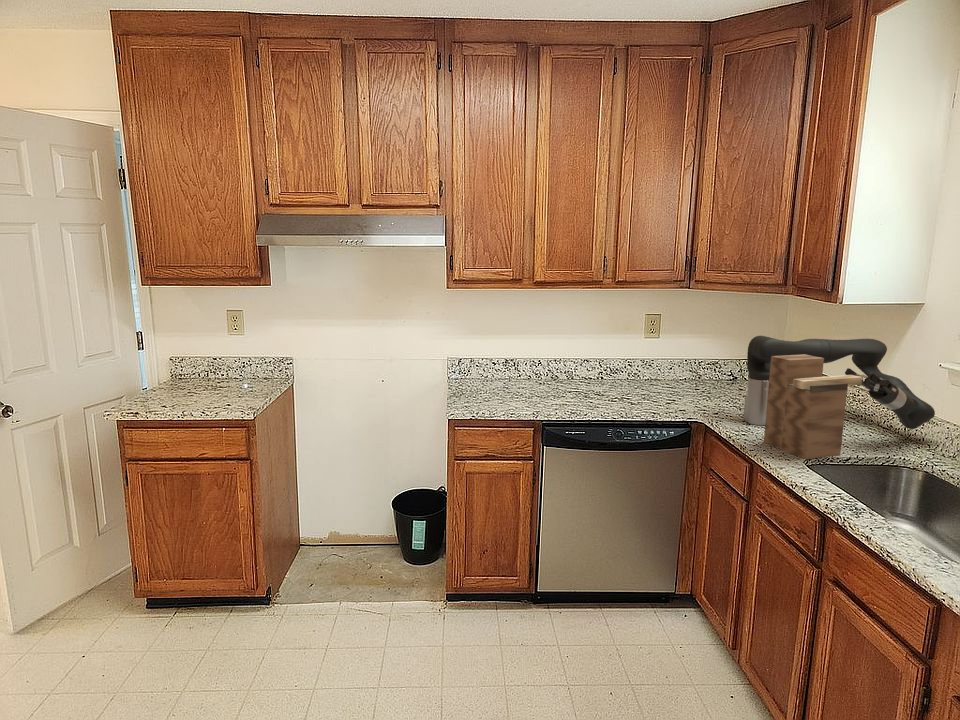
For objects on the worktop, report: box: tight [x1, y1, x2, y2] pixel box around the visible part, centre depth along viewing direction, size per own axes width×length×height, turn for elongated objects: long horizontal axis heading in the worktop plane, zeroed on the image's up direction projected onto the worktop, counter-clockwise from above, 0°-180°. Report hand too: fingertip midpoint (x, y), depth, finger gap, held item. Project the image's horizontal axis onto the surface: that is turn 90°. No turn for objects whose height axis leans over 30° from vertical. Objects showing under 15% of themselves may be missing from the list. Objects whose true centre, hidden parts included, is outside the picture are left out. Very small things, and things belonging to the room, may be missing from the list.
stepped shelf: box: [763, 354, 849, 460], centre depth 203 cm, size 18×14×30 cm
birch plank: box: [792, 374, 862, 389], centre depth 199 cm, size 4×24×2 cm, turn 108°
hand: (858, 373), depth 202 cm, fingers open, 8 cm apart
